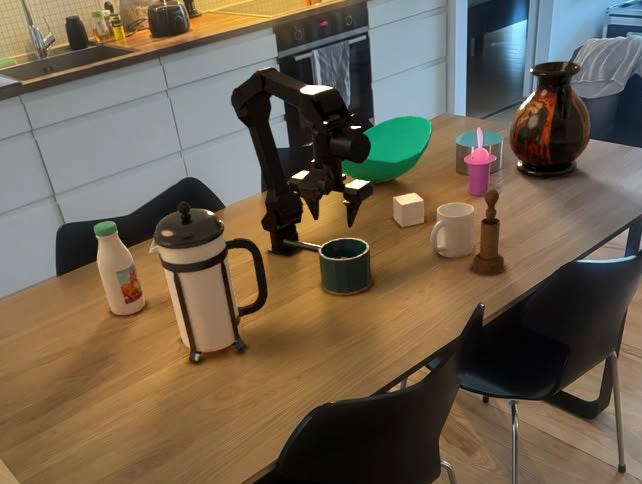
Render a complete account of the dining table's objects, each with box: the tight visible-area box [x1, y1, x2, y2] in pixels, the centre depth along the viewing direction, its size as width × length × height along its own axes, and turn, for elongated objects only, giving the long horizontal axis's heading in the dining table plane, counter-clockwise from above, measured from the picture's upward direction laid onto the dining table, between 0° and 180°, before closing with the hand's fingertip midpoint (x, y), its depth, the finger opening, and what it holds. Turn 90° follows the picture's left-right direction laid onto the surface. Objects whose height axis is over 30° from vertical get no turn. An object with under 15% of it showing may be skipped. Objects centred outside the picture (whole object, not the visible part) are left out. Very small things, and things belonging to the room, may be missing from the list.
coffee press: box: [148, 201, 269, 364], centre depth 129 cm, size 17×16×30 cm
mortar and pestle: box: [472, 188, 505, 275], centre depth 146 cm, size 7×6×18 cm
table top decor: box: [342, 115, 433, 185], centre depth 200 cm, size 40×28×13 cm
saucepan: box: [283, 237, 372, 296], centre depth 153 cm, size 11×22×8 cm, turn 54°
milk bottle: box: [93, 220, 146, 316], centre depth 148 cm, size 8×8×20 cm
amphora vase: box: [508, 61, 592, 180], centre depth 187 cm, size 22×22×28 cm
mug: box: [429, 202, 475, 259], centre depth 156 cm, size 12×8×10 cm
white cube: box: [392, 192, 425, 228], centre depth 175 cm, size 6×6×6 cm
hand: (333, 223), depth 151 cm, fingers open, 9 cm apart
